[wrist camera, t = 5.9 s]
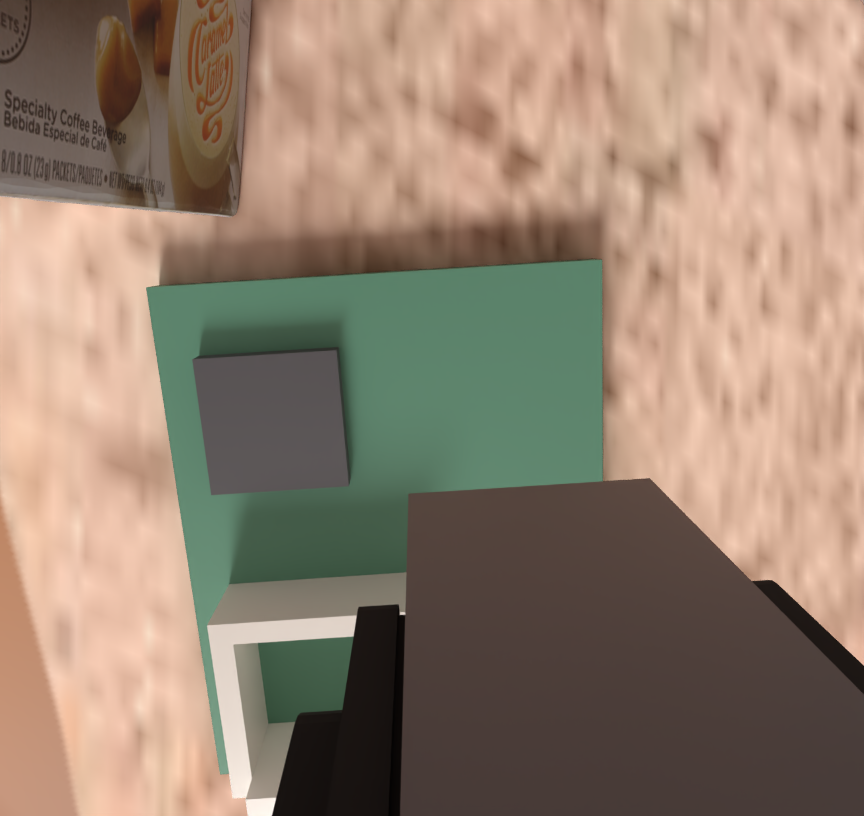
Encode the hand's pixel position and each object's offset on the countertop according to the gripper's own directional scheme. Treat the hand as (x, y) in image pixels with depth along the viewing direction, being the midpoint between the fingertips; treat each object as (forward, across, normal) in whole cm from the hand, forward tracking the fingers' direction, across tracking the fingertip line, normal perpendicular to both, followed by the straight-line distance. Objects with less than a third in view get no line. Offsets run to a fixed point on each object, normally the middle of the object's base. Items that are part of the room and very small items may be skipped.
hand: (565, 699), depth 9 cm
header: (+17, +6, +10) cm, 20 cm away
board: (+18, +3, +5) cm, 19 cm away
